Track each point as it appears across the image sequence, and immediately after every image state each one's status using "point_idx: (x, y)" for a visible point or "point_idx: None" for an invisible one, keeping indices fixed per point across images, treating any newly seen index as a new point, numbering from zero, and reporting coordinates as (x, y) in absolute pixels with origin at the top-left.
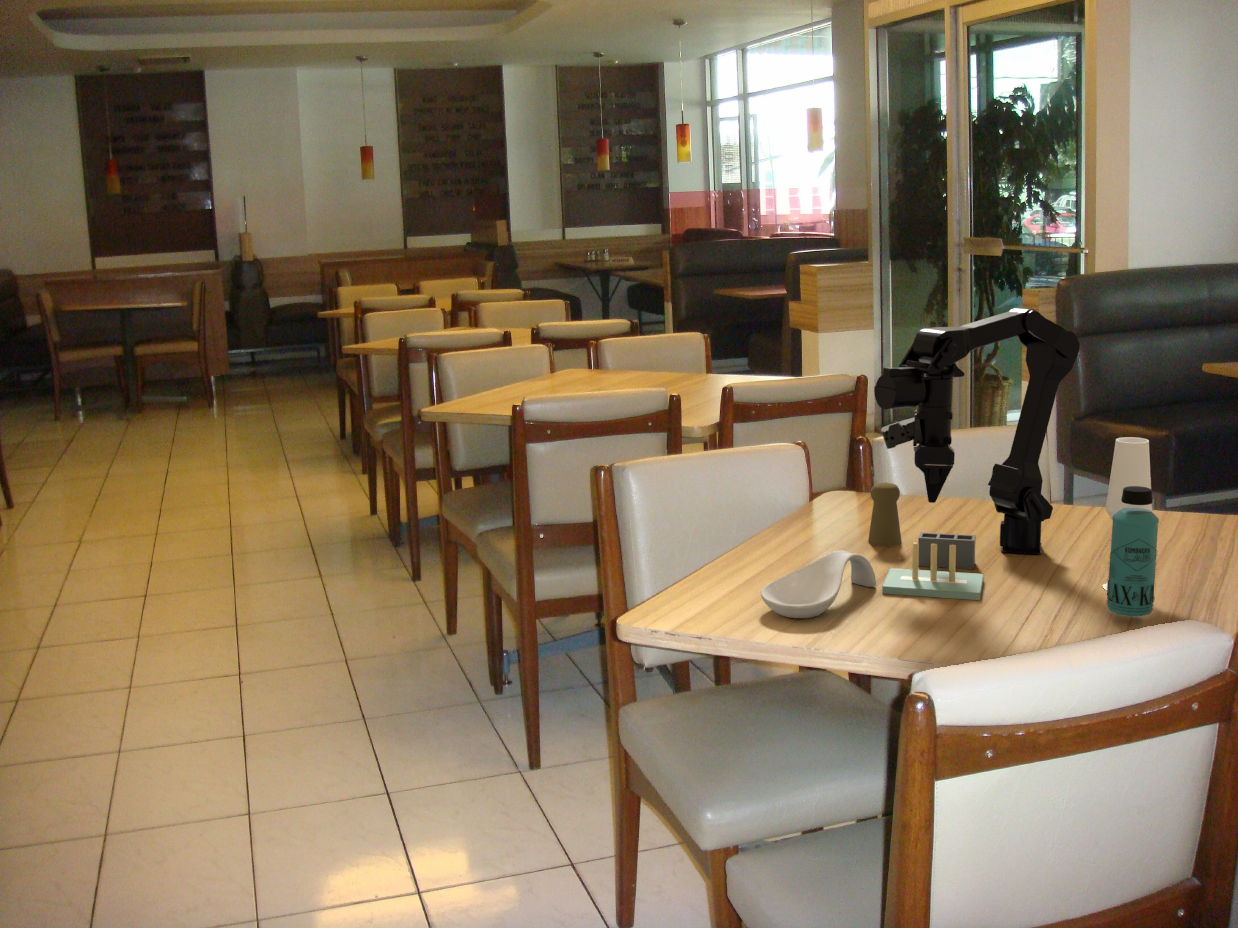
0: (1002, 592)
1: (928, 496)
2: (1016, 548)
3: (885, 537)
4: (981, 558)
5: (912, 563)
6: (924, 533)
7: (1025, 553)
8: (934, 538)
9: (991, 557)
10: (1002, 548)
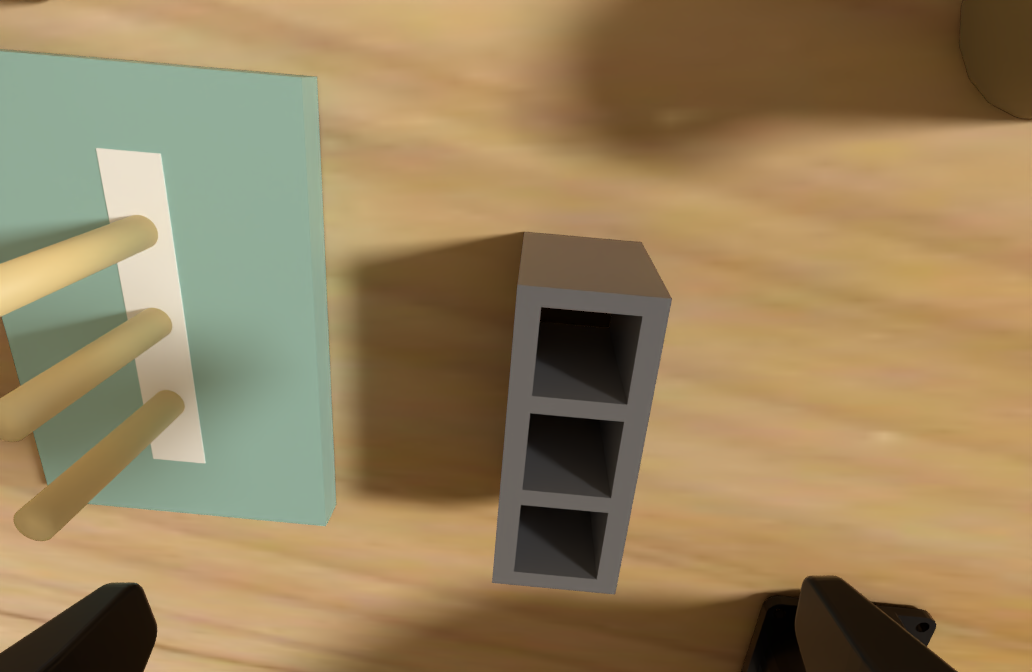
0: (208, 556)
1: (25, 643)
2: (769, 655)
3: (1011, 2)
4: (682, 514)
5: (68, 239)
6: (642, 324)
7: (743, 665)
8: (515, 385)
9: (700, 551)
10: (794, 606)
